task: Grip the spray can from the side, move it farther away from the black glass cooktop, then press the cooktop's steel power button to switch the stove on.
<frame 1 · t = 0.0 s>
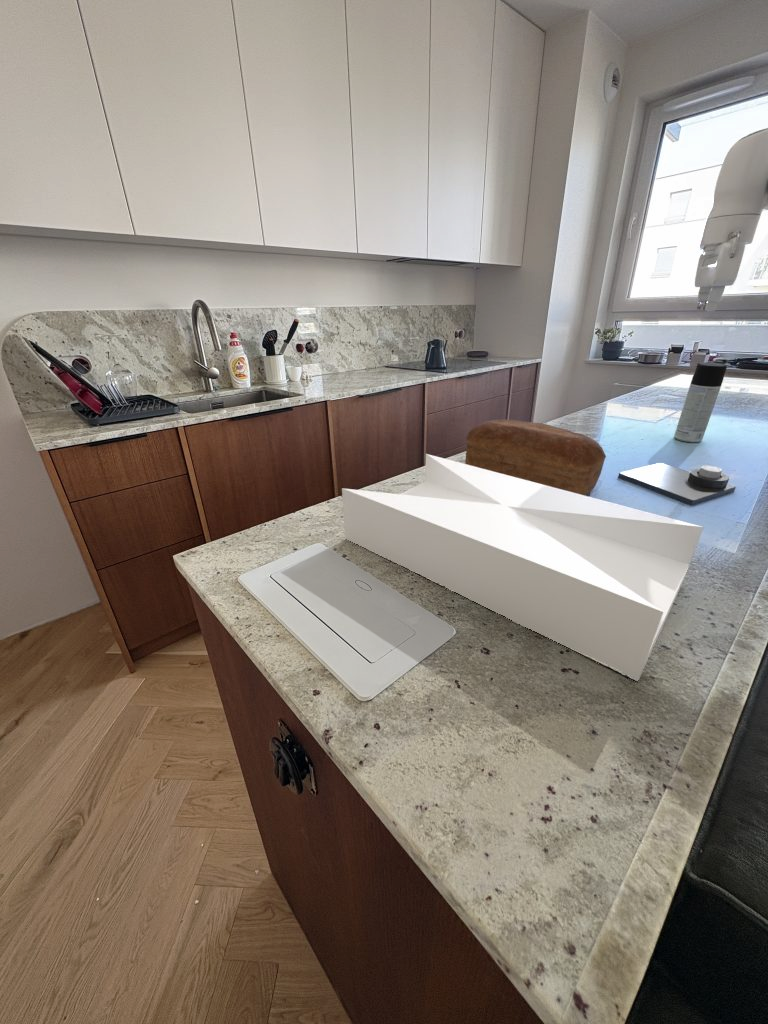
hand: (704, 310, 92), 33 cm above the countertop, tool pointing down, fingers open, 8 cm apart
bread: (526, 481, 93), on the countertop
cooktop: (673, 484, 89), on the countertop
power button: (710, 472, 86), point 3 cm above the countertop, slide at 0.1 cm
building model: (496, 561, 65), on the countertop
spray can: (687, 440, 117), on the countertop
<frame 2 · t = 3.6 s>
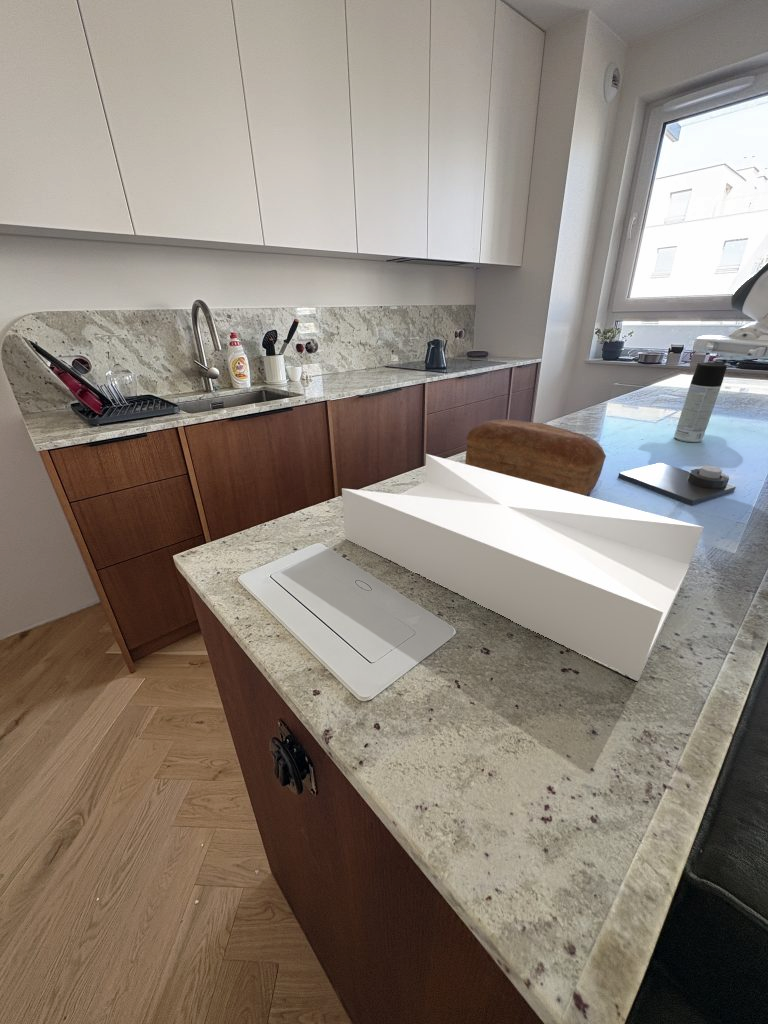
hand: (729, 351, 111), 22 cm above the countertop, tool horizontal, fingers open, 8 cm apart
nothing on the countertop moved.
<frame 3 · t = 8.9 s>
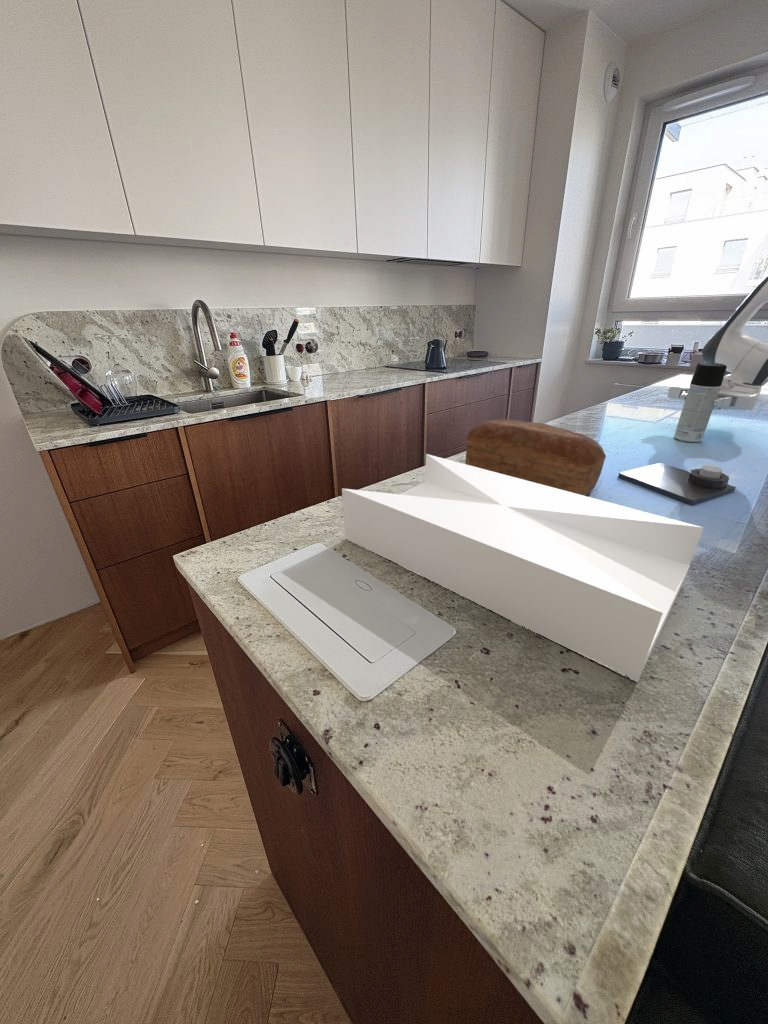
hand: (699, 400, 111), 11 cm above the countertop, tool horizontal, fingers closed on spray can, 6 cm apart
spray can: (687, 440, 117), on the countertop, touching gripper
everything else where it was.
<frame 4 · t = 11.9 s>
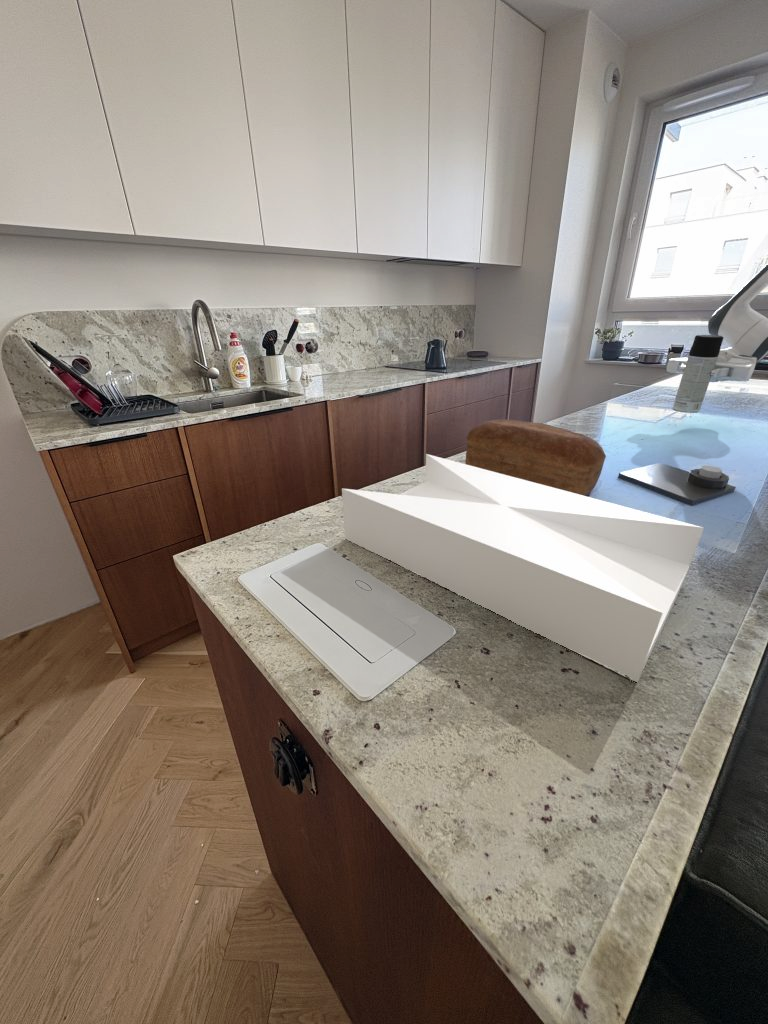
hand: (697, 371, 115), 17 cm above the countertop, tool horizontal, fingers closed on spray can, 6 cm apart
spray can: (685, 411, 121), point 6 cm above the countertop, touching gripper
everything else where it was.
when the fingers open (11 cm above the countertop, at t = 15.1 s): spray can stays where it is, on the countertop.
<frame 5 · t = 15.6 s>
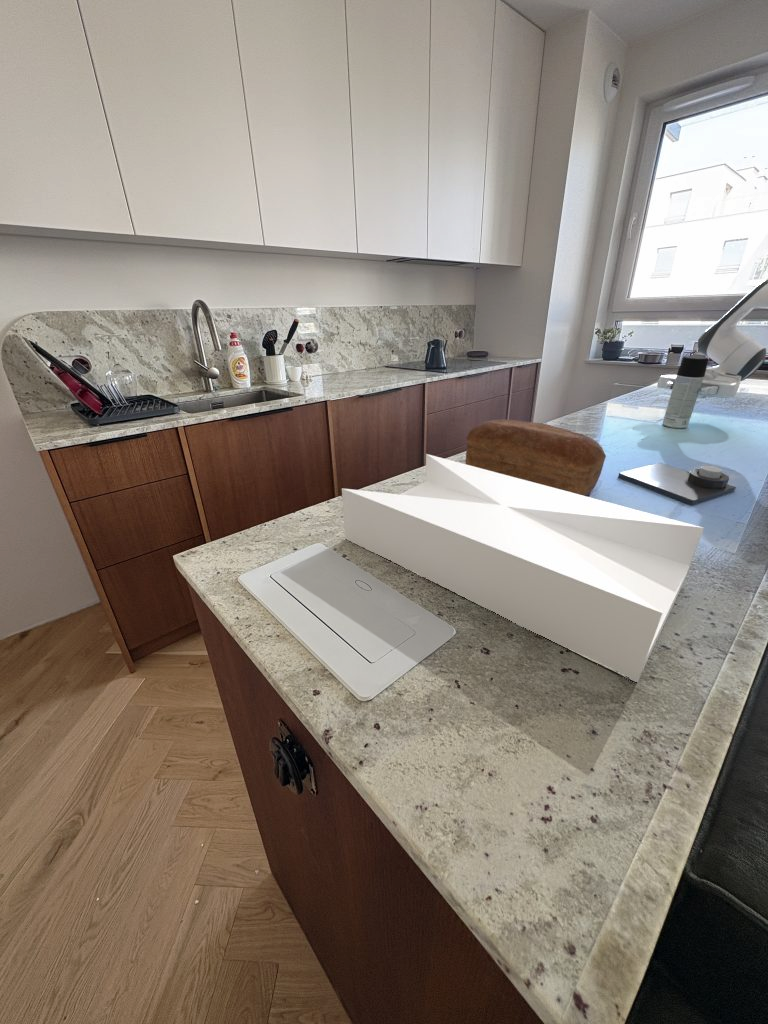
hand: (685, 388, 123), 11 cm above the countertop, tool horizontal, fingers open, 8 cm apart
spray can: (674, 426, 129), on the countertop
everything else where it was.
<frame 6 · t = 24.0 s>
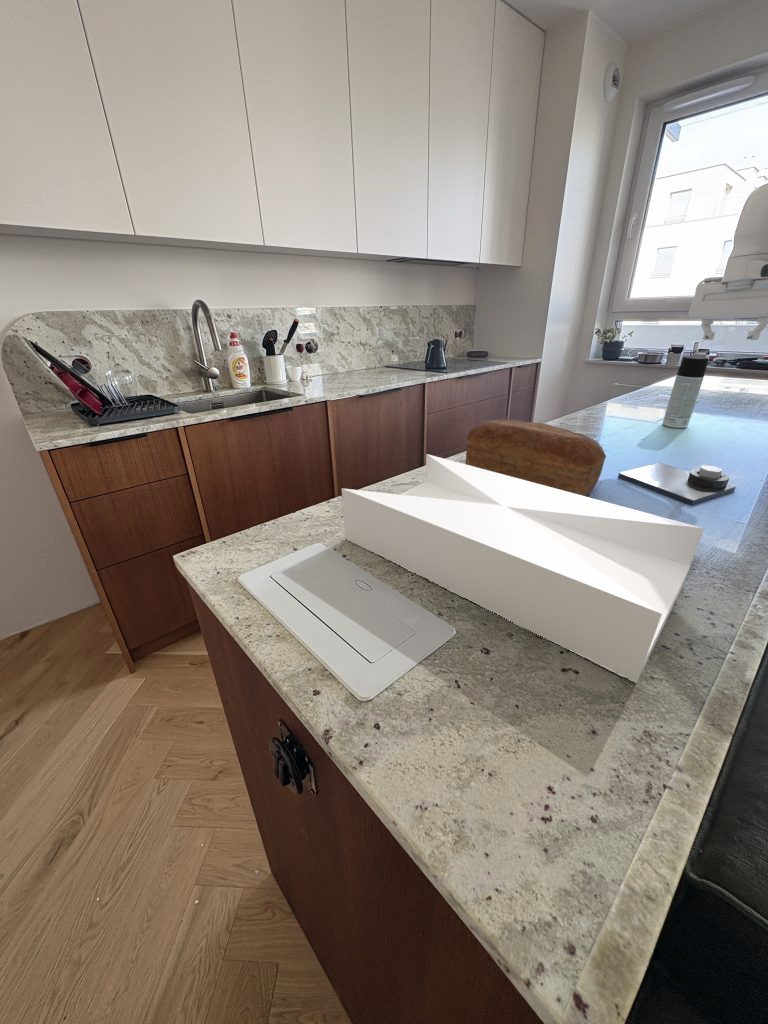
hand: (729, 339, 98), 26 cm above the countertop, tool pointing down, fingers open, 8 cm apart
nothing on the countertop moved.
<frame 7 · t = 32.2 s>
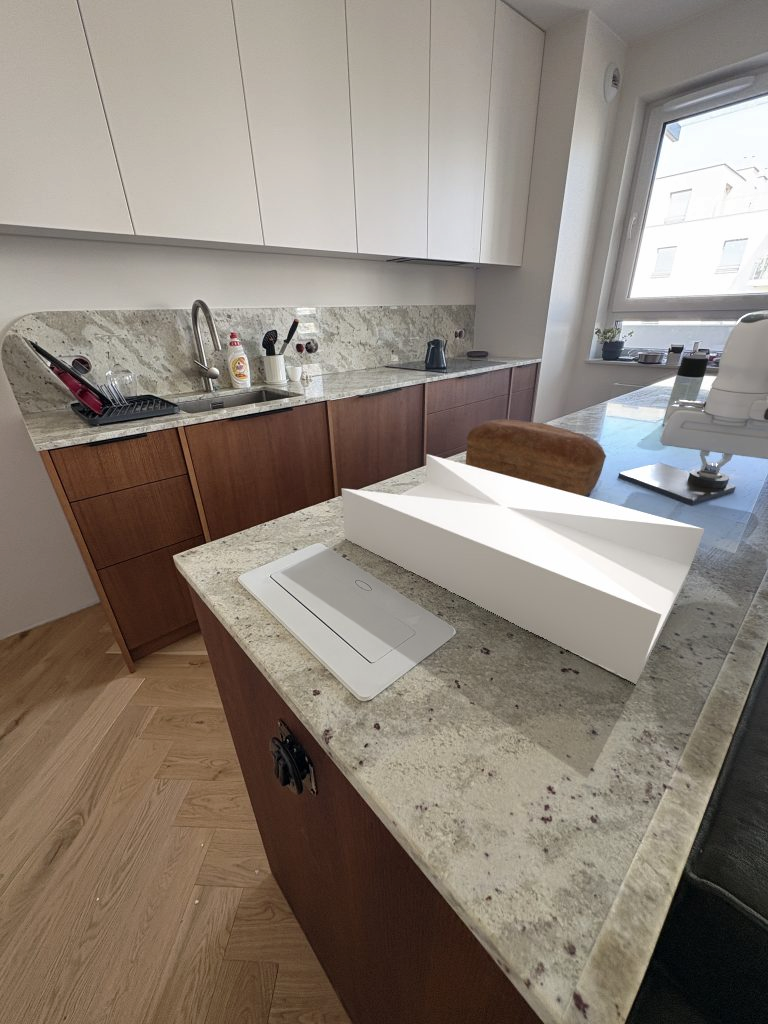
hand: (708, 472, 86), 3 cm above the countertop, tool pointing down, fingers closed, pressing on power button
power button: (708, 476, 87), point 3 cm above the countertop, slide at -0.8 cm, touching gripper
everything else where it was.
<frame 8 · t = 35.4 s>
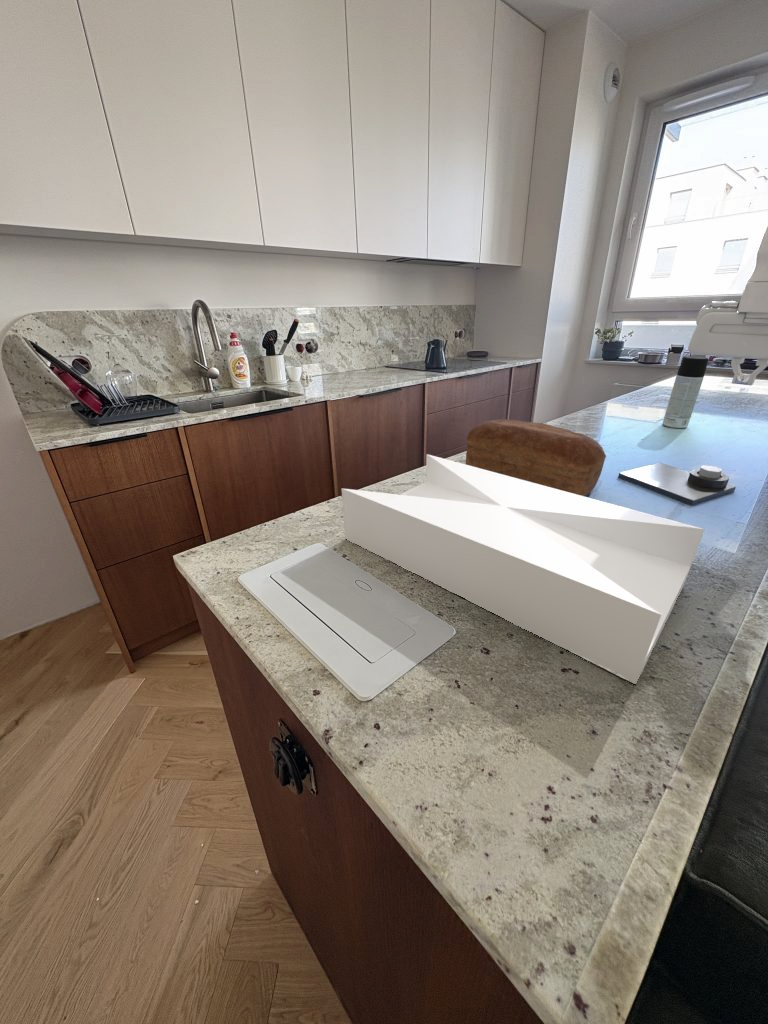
hand: (741, 384, 78), 21 cm above the countertop, tool pointing down, fingers closed
power button: (710, 472, 86), point 3 cm above the countertop, slide at 0.1 cm
everything else where it was.
at the end: spray can inside the target area (0.1 cm from its centre), on the countertop; spray can tilted 0°; power button pushed in 1.0 cm at the most during the clip, back to where it started at the end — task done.
